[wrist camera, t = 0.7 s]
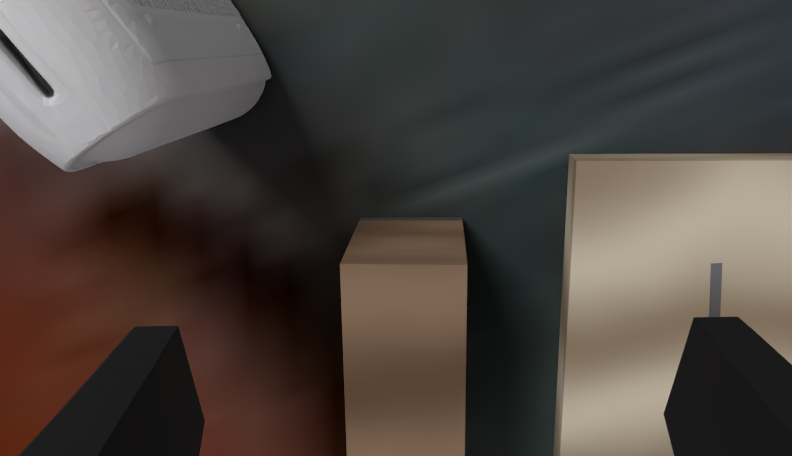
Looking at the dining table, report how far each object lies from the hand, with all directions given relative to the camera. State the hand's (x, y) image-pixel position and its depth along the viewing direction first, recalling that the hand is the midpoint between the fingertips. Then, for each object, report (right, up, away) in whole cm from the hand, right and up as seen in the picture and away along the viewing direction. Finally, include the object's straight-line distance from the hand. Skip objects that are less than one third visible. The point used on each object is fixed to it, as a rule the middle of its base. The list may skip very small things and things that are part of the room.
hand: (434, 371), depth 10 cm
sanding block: (0, -2, +19) cm, 19 cm away
